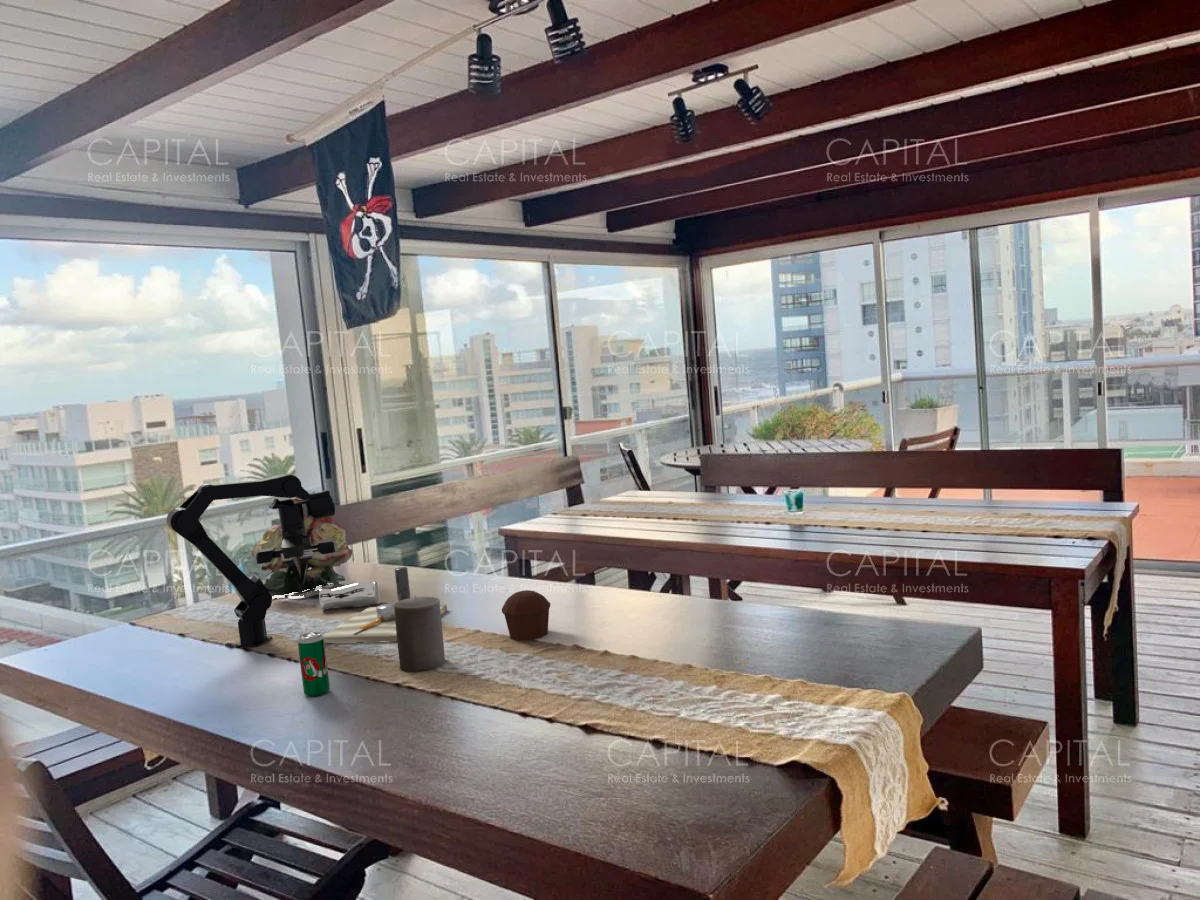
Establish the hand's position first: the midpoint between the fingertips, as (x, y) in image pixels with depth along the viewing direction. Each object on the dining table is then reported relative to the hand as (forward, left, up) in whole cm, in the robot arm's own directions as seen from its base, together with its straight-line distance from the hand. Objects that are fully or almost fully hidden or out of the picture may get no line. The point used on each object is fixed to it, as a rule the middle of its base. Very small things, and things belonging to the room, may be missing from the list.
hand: (301, 584), depth 227 cm
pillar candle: (-27, -43, -12) cm, 52 cm away
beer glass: (+19, +6, -9) cm, 22 cm away
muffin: (-8, -61, -12) cm, 62 cm away
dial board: (+2, -21, -12) cm, 24 cm away
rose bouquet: (+42, +22, -12) cm, 49 cm away
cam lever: (+2, -21, -10) cm, 23 cm away
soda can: (-43, -27, -12) cm, 52 cm away
